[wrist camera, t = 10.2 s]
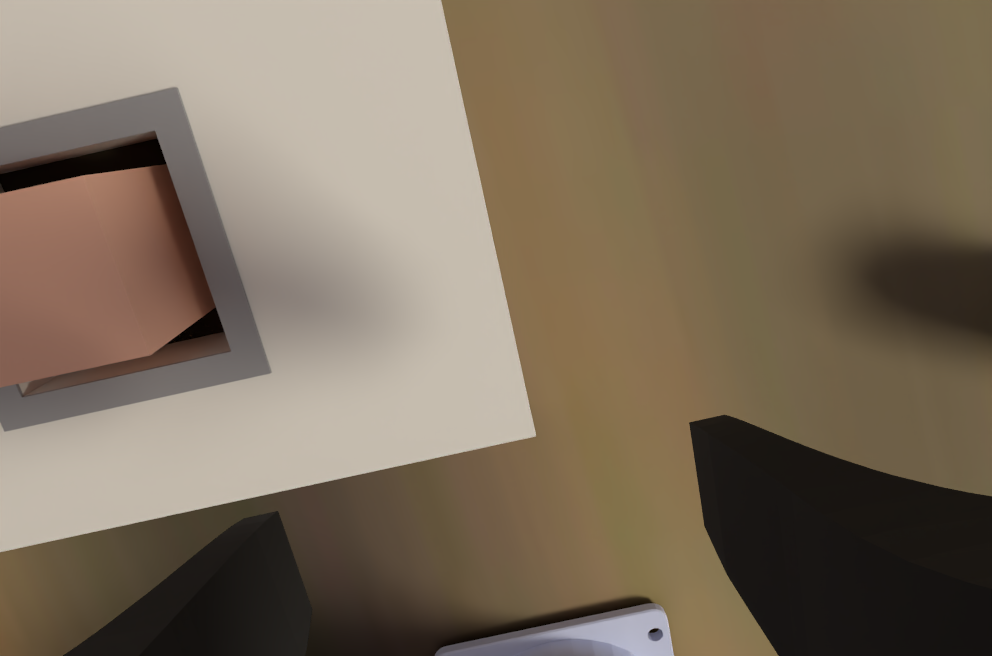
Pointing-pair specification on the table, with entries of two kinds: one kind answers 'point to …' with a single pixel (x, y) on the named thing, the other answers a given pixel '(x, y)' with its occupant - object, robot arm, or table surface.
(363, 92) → the outlet block
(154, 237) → the plug block
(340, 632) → the table surface
